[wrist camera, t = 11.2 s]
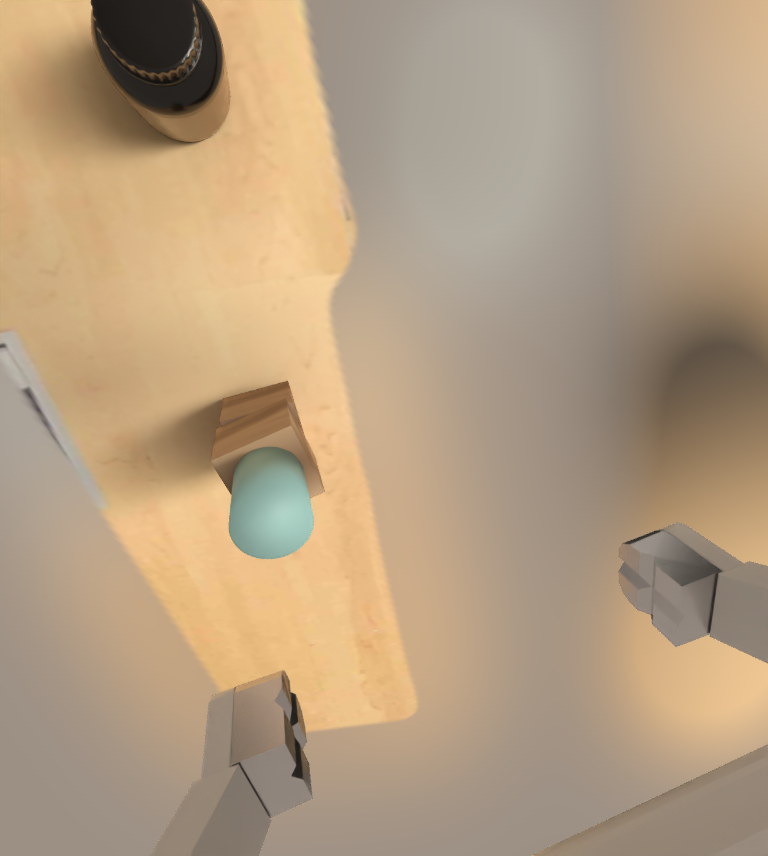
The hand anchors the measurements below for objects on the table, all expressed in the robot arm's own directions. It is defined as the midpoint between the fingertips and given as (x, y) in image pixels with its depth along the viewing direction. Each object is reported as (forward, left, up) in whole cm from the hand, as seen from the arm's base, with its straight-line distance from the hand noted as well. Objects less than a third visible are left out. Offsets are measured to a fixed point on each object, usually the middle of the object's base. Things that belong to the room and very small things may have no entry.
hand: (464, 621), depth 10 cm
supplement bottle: (-19, -4, -35) cm, 40 cm away
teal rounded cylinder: (+7, -6, -23) cm, 25 cm away
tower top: (+7, -6, -29) cm, 31 cm away
